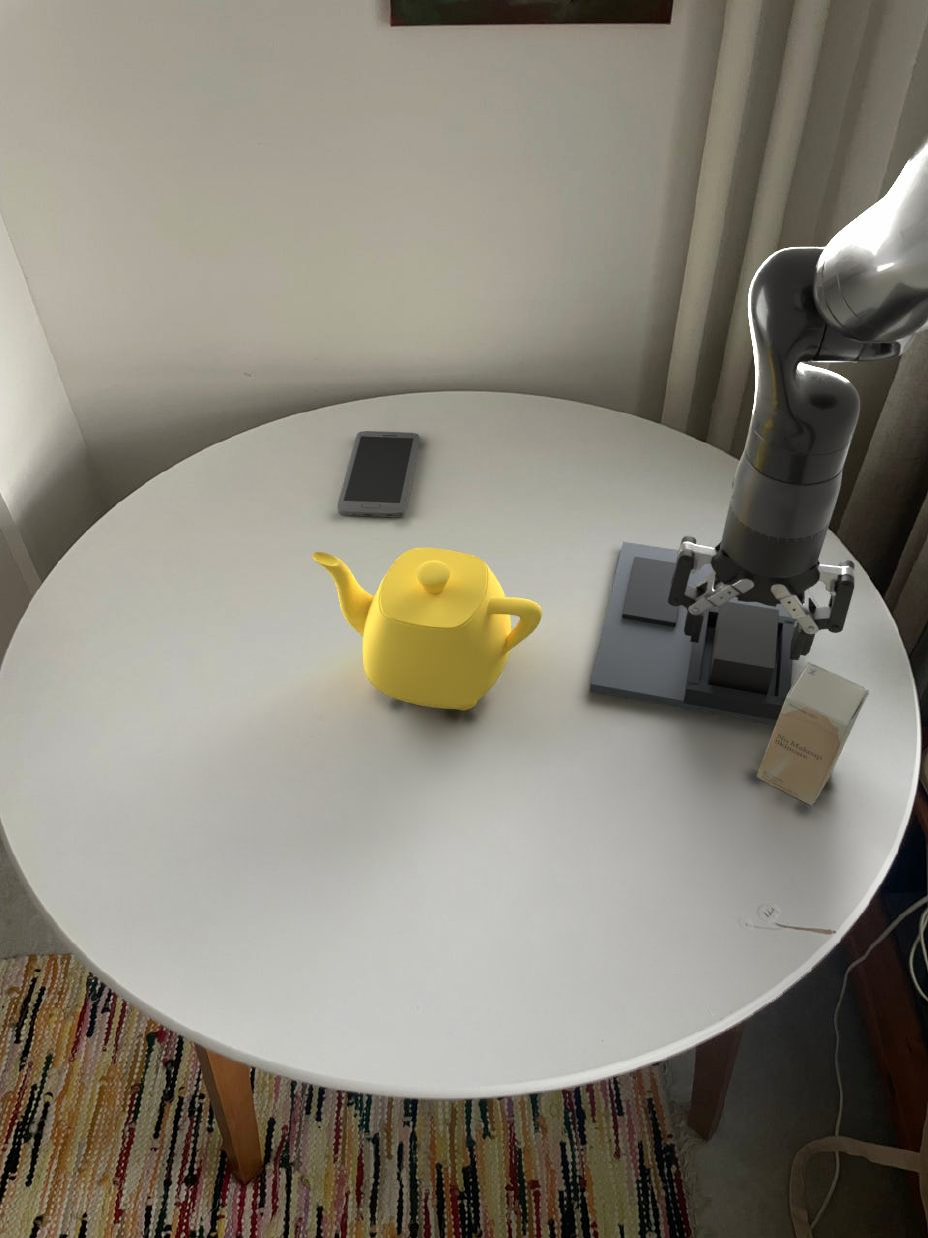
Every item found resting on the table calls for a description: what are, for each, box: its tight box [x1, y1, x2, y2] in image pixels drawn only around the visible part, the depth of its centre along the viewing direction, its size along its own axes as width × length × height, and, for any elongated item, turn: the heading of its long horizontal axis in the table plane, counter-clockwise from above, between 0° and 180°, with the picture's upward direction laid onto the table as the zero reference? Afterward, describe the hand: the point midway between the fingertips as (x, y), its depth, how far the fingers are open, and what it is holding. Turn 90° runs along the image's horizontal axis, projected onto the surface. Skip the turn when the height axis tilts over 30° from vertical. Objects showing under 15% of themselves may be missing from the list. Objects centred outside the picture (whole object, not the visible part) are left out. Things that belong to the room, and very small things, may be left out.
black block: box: [708, 601, 779, 695], centre depth 90 cm, size 5×7×4 cm
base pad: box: [589, 541, 796, 726], centre depth 95 cm, size 17×19×3 cm
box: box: [756, 661, 870, 806], centre depth 81 cm, size 5×4×11 cm
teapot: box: [311, 546, 543, 711], centre depth 89 cm, size 13×20×12 cm
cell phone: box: [337, 430, 421, 518], centre depth 112 cm, size 7×14×1 cm, turn 175°
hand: (744, 644), depth 89 cm, fingers open, 8 cm apart
